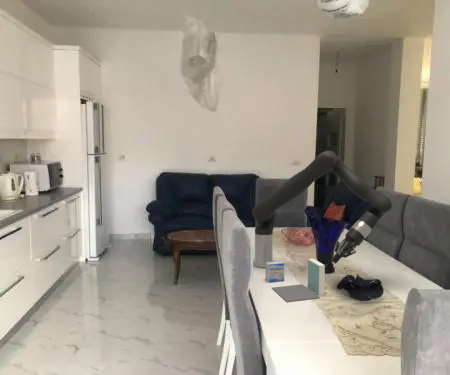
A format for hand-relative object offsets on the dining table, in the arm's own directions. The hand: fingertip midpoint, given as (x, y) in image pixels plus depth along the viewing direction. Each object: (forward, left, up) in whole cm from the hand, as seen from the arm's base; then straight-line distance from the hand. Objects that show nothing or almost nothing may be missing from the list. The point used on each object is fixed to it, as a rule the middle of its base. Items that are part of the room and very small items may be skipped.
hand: (333, 261), depth 182 cm
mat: (0, -18, -12) cm, 22 cm away
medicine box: (-17, -20, -12) cm, 29 cm away
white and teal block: (0, -8, -12) cm, 15 cm away
